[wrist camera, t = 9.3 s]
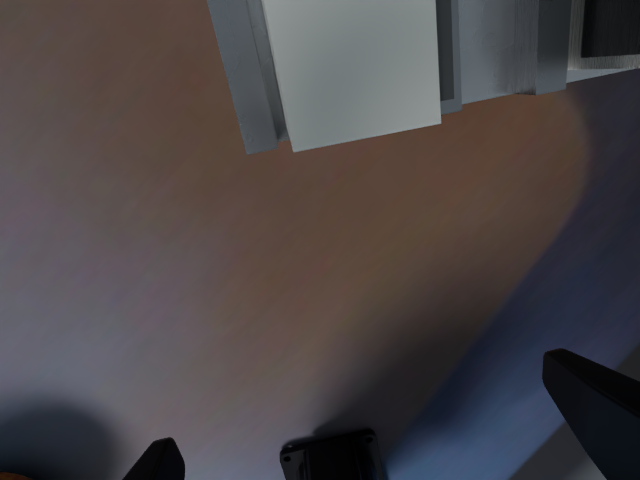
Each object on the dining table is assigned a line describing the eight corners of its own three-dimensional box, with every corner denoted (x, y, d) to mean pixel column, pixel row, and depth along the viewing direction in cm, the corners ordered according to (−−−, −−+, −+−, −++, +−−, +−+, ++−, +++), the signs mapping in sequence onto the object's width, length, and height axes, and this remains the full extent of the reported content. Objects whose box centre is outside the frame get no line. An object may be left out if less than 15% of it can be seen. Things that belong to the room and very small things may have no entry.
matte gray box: (257, -19, 14) (247, -82, 8) (384, -42, 14) (456, -118, 8) (286, 125, 16) (293, 152, 10) (397, 104, 16) (462, 118, 10)
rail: (660, 55, 19) (932, 40, 11) (251, 139, 18) (236, 185, 10) (683, -100, 16) (1051, -258, 9) (215, -10, 16) (159, -93, 8)
